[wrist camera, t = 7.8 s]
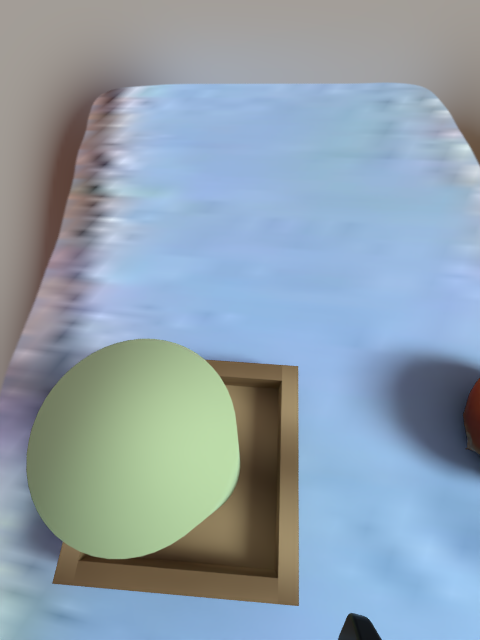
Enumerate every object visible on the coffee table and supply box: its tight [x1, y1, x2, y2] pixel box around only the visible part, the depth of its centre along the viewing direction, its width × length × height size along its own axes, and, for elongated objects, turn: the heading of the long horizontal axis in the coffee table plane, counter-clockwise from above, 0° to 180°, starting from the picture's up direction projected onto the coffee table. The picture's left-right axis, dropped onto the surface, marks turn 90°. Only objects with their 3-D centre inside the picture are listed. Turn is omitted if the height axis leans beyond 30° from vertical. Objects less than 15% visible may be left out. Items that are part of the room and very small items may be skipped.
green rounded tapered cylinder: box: [26, 339, 240, 559], centre depth 15 cm, size 6×6×13 cm
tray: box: [52, 360, 299, 606], centre depth 21 cm, size 12×12×3 cm
